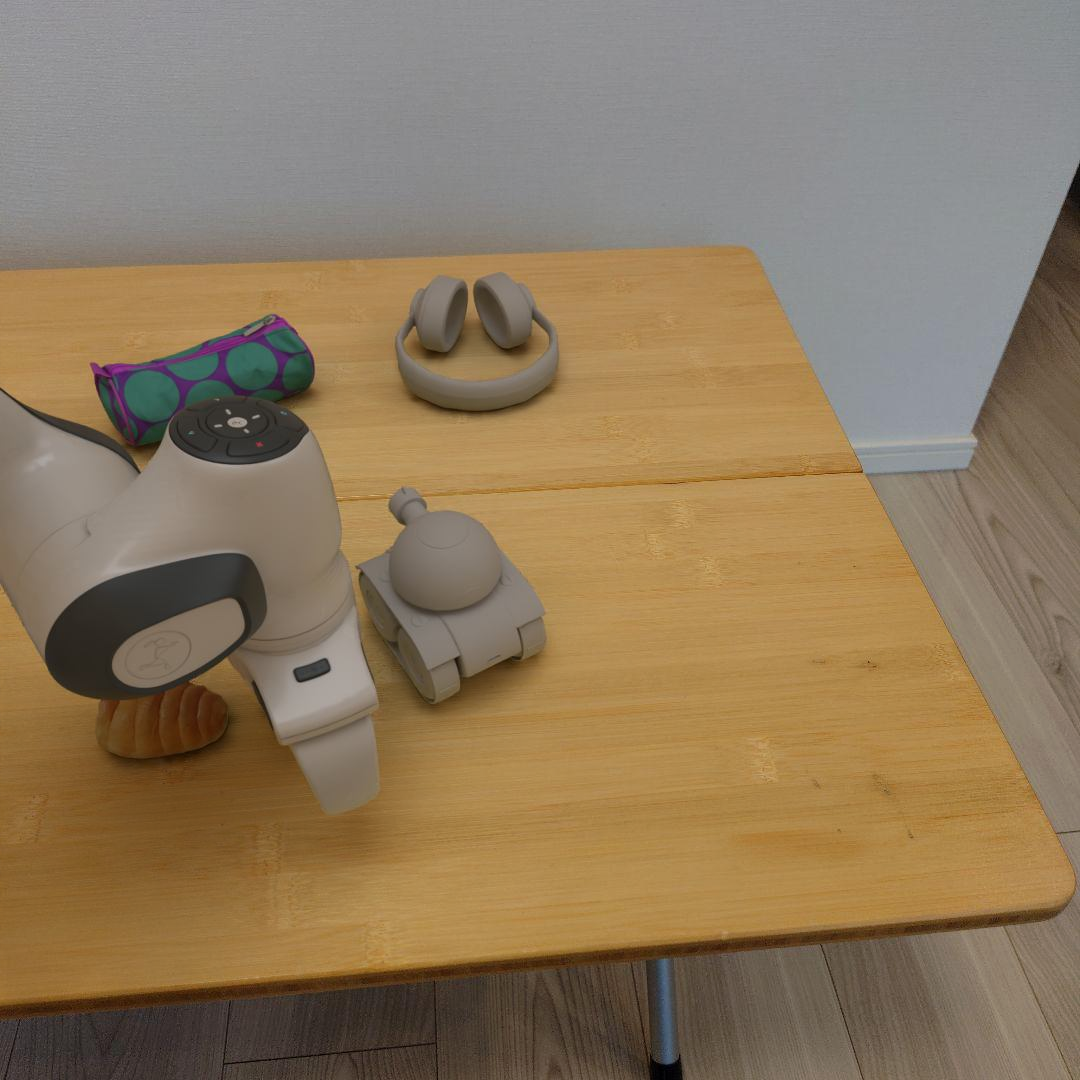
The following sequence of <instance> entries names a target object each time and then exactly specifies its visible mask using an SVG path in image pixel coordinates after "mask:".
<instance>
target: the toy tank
mask: <svg viewBox="0 0 1080 1080" xmlns="http://www.w3.org/2000/svg"><path fill="white" fill-rule="evenodd" d="M387 506H388V510H389V512H390V513H391V514H392V516H393V517H394V518H395V520H396V521H397V523H398V524H400V525H402V526H404V528H403V529H402V530H401V531H400V532H399V534H398V535H397V537H396V539H395V540H394V542H393V544H392V546H390V547H389V548H387V549H386V550H385V551H384V553H382V554H380V555H377V556H374V557H373V558H370V559H367V560H365V561H363V562H360V563H358V564H355V566H354V568H355V570H359V572H358V577H357V578H358V585H359V586H358V587H359V590H360V594H361V597H362V600H363V602H364V605H365V608H366V610H367V612H368V615H369V617H370V619H371V621H372V623H373V624H374V627H375V628H376V630H377V632H378V633H379V635H380V636H381V638H382V639H383V641H384V642H385V643H386V645H387V646H388V648H389V650H390V651H391V652H392V654H393V656H394V657H395V658H396V660H397V661H398V663H399V664H400V665H401V667H402V669H403V670H404V672H405V673H406V675H407V676H408V677H409V679H410V680H411V682H412V683H413V685H414V686H415V688H416V689H417V691H418V692H419V694H420V695H421V696H422V697H423V699H424V701H426V702H428V703H429V704H431V705H434V704H438V703H440V702H442V701H444V700H446V699H448V698H450V697H452V696H454V694H456V693H458V692H459V691H460V688H461V679H460V677H462V678H471V677H473V676H474V675H477V674H479V673H480V672H483V671H484V670H486V669H489V668H490V667H492V666H494V665H496V664H499V663H501V662H503V661H505V660H507V659H509V658H510V659H511V660H512V661H514V662H521V661H524V660H527V659H528V658H530V657H532V656H534V655H536V654H538V653H539V652H540V651H542V650H544V649H545V647H546V644H547V634H546V633H547V632H546V627H545V623H544V620H543V616H546V615H547V611H546V609H545V607H544V605H543V603H542V601H541V599H540V597H539V595H538V594H537V592H536V590H535V589H534V587H533V586H532V585H531V583H530V582H529V581H528V579H526V577H525V576H524V575H523V573H522V572H521V571H520V570H519V569H518V568H517V567H516V565H514V563H513V562H512V561H511V560H510V558H508V556H507V555H506V553H504V552H503V551H502V549H501V548H500V547H499V546H498V544H497V541H496V540H495V538H494V536H493V535H492V533H491V532H490V531H489V530H488V528H487V527H486V526H485V525H484V524H483V523H481V522H480V521H479V520H477V518H475V517H472V516H471V515H468V514H466V513H463V512H460V511H456V510H445V509H443V510H435V511H430V510H427V509H428V503H427V501H426V500H425V498H424V497H423V496H422V495H421V494H420V493H419V492H418V490H417V489H416V488H414V487H410V486H408V487H407V486H406V485H402V486H401V488H400V489H398V490H397V491H396V492H394V493H393V494H392V496H391V497H390V499H389V501H388V503H387Z"/></svg>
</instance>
